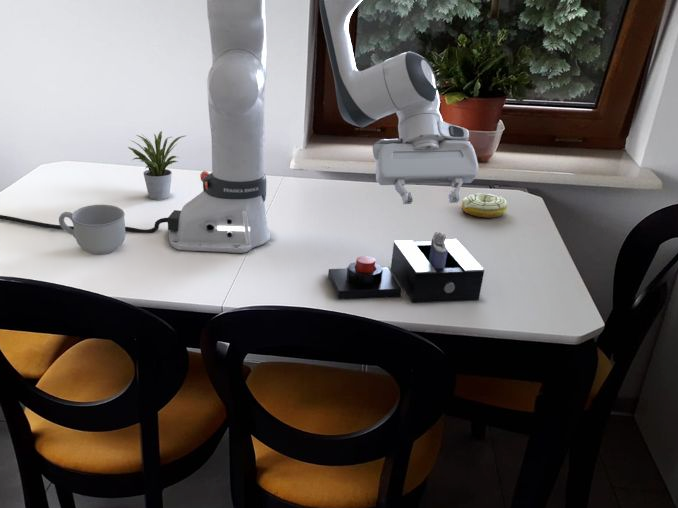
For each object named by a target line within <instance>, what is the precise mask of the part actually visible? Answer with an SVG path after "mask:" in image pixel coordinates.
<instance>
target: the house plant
mask: <svg viewBox="0 0 678 508" xmlns="http://www.w3.org/2000/svg"><path fill="white" fill-rule="evenodd" d="M136 136H137V137H139V138H140V139H141V140H142V141H143V143H144V144H145V145H146V146H142V145H140V144H139V143H138V142H136V141H134V140H130V139H129V141H130V142H132V143H134V144H136V145H137V146H139V148H140V149H142V150H143V152H144V153H145V154H146V155H145V154H144V153H142V152H141V151H139V150H138V149H135V148H133V147H130V146H127V148H128V149H129V150H130V151H132V153H133V154H134V155H135V156H137V157H134V158H132V161H133V160H140V162H141V163H142V162H143V163H145V165H146V166H145V168H144V171H143V177H144V182H145V186H146V190H147V194H148V198H149V199H150V200H153V201H163V200H166V199H168V198H170V194H171V185H172V175H173V172H172V171H171V170H170V169H167V167H168V166H169V165H171V166H172V165H173V163H178V160H173V159H176V158H179V159H180V157H179V156H177V155H171V156H169V154H170V153H171V152H172V150H173V149H174V147H175V146H176V144H175V143H176V142H177V141H178V140H179V139H181V138H184V137H186V135H181V136H178V137H176V138H175V139H173V140H172V141H171V143H170V144H169V146H168V147H166V146H167V144H168V139H170V138H172V136H169V137H166V138H165V140H164V142H163V145H161V143H162V139H163V130H160V132H159V133H158V135H156V134H155V133H153V136H154V146H155V148H154V146H153V144H152V142H151V141H150V140H149V139H148V138H147V137H146V136H144V135H143V136H140V135H137V134H136ZM161 146H162V148H161ZM166 148H167V149H166ZM168 156H169V157H168ZM146 169H147V170H146Z"/></svg>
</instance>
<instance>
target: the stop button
mask: <svg viewBox="0 0 678 508" xmlns="http://www.w3.org/2000/svg"><path fill="white" fill-rule="evenodd" d="M355 262H356V270H357V271H359V272H364V273H371V272H374V270H375V263H376V259H375V258H374V257H372V256H369V255H361V256H357V258H356V259H355Z"/></svg>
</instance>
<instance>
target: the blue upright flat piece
mask: <svg viewBox="0 0 678 508" xmlns="http://www.w3.org/2000/svg"><path fill="white" fill-rule="evenodd" d="M446 238H447V236H446V233H444V234H443V233H442V232H438V231H435V232H434V234H433V235H432V239H431V241H432V242H431V250H430V256H429V263H430V264H431V265H432V266H433V268H434V269H435V268H445V263H446V258H447V253H448V250H447V248H446V246H445V239H446Z"/></svg>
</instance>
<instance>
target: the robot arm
mask: <svg viewBox="0 0 678 508" xmlns="http://www.w3.org/2000/svg"><path fill="white" fill-rule="evenodd" d="M362 1H363V0H319V12H320V17H321V22H322V28H323V29H322V30H323V34H324V38H325V42H326V47H327V52H328V57H329V61H330V65H331V66H330V67H331V70H332V76H333V80H334V81H333V82H334V87H335V95H336V103H337V107H338V109H339V110H338V111H339V113H340V116H341V117H342V119H343V120H344V121H345V122H347V123H348V124H351V125H352V126H356V127H358V128H365V127H367V126H369V125H370V124H373V123H375V122H376V121H379V119H382V118H385V117H388V116H390V115H392V114H396V116H397V118H398V123H397V124H398V125H397V131H398V138H391V139H386V138H383V139H379V140H378V141H376V142H375V143H374V144H373V145H372V156H373V158H374V159H375V181H376V182H377V183H378V185H380V186H394V188H395V191H396V192H397V194H398V195H399V196H400V197H401V199H402V204H403V205H411V204H412V203H413V202H414V201H413V193H412V192H408V191H407V189H406V188H405V187H404V186H406V185H409V186H411V185H438V184H439V185H444V184H445V185H447V184H448V185H449V184H450V185H451V188H453V190H451V191H450V192H449V194H447V195H448V203H449V204H457V203H459V201H460V193H459V192H460V190H461V187H462V185H463V184H471V183H472V182H473V181H474V180H475V179H476V177H477V176H478V175H479V173H480V167H479V161H478V157H477V154H476V151H475V148H474V146H473V144H472V143H471V142H470V141H469V138H470V132H469V130H468V129H467V128H465V127H461V126H458V125H455V124H451V123H448V122H446V121H444V120H443V117H442V115H441V113H440V96H439V91H438V84H437V78H436V73H435V71H434V68H433V67H432V66H433V65H432V64H431V63H430V61H429V60H428V59H427V58H425V57H423V56H422V55H420V54H418V53H416V52H413V51H406V52H403V53H400V54H398V55H395V56H393V57H391V58H388V59H386V60H384V61H382V62H380V63H377V64H375V65H372V66H370V67H368V68H366V69H364V70H358V69H357V66H356V61H355V56H354V51H353V45H352V41H351V35H350V31H349V24H350V19H351V16H352V15H353V12H354V11H355V9H356V8H357V7H358V6H359V5H360V4H361V2H362ZM206 12H207V13H206V14H207V19H208V20H207V21H208V28H209V37H210V48H211V58H212V59H211V67H210V69H209V71H208V73H207V78H206V87H207V105H208V116H209V117H208V118H209V127H210V136H211V137H210V138H211V172H210V173H209V172H208V171H206V170H204V171H201V173H200V174H199V176H200V181H201V182H202V191H201V192H200V193H199V194H196V195H195V196H194V198H192V199H191V200H189V201H188V202H186V203H185V204H184V205H183V206H182V208H181V210H179V209H178V210H177V209H174V210H173V211H172V212H171V214H169V216H167V217H162V218H159V219H157V220H156V221H155V222H154V226H153V227H151V228H149V229H142V228H137V227H136V228H135V227H131V226H125V232H130V233H138V234H152V233H155V232H157V231H158V230H159V228H160V225H161V224H163V223H167V230H168V231H169V233H168V241H169V244H170V246H171V247H173V248H174V249H175V250H178V251H190V252H191V251H193V252H213V253H214V252H215V253H233V254H234V253H236V254H245V253H247V252H249V251H251V250H252V249H253V248H257V247H260V246H263V245H265V244H266V243H268V242H269V241H270V239H271V232H270V229H269V225H268V220H267V213H266V212H267V211H266V203H265V202H266V199H267V176H266V173H265V142H266V141H265V139H266V138H265V90H266V89H265V87H266V80H267V31H266V30H267V29H266V0H206ZM0 220H3V221H10V222H14V223H19V224H24V225H29V226H35V227H40V228H45V229H52V230H60V231H65V230H64V229H62V227H61V226H60V224H52V223H47V222H40V221H35V220H30V219H25V218H20V217H15V216H10V215H3V214H0ZM68 226H69V227H70V228H71V229H73V230H74V227H73V226H72V225H68Z"/></svg>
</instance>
